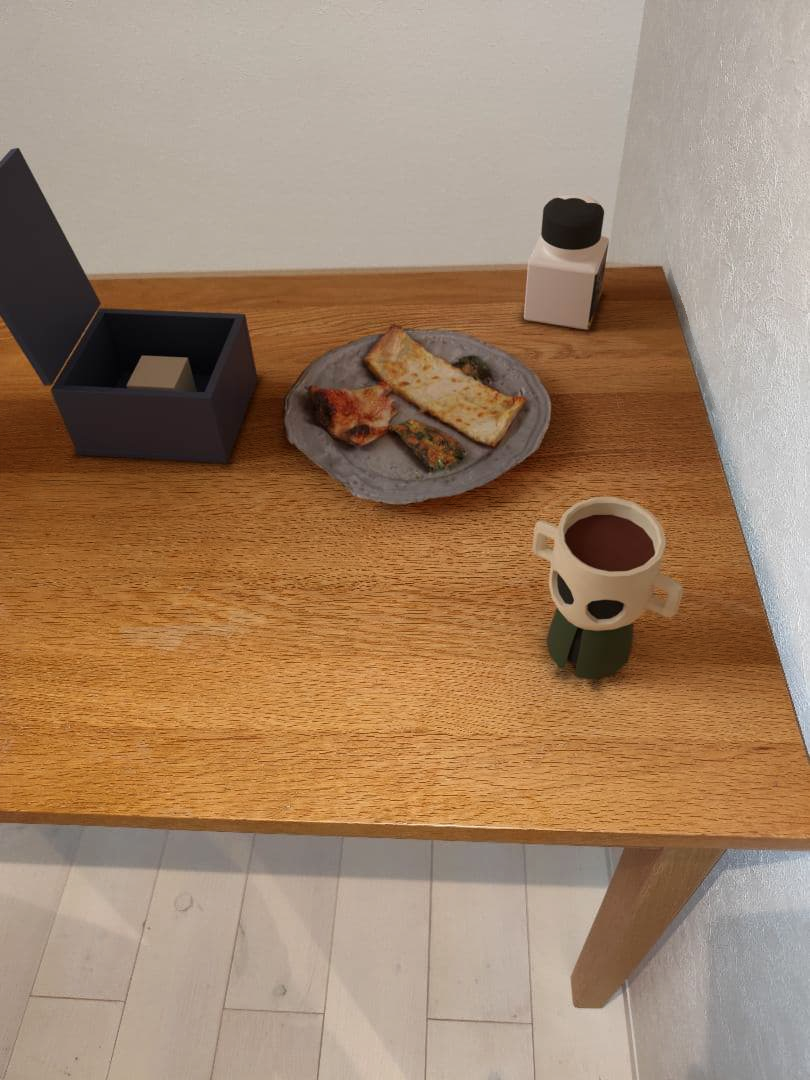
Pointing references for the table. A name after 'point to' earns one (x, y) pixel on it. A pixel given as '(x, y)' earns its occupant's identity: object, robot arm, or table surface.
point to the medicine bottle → (567, 263)
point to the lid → (39, 274)
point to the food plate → (416, 414)
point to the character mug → (603, 581)
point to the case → (157, 415)
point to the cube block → (162, 374)
